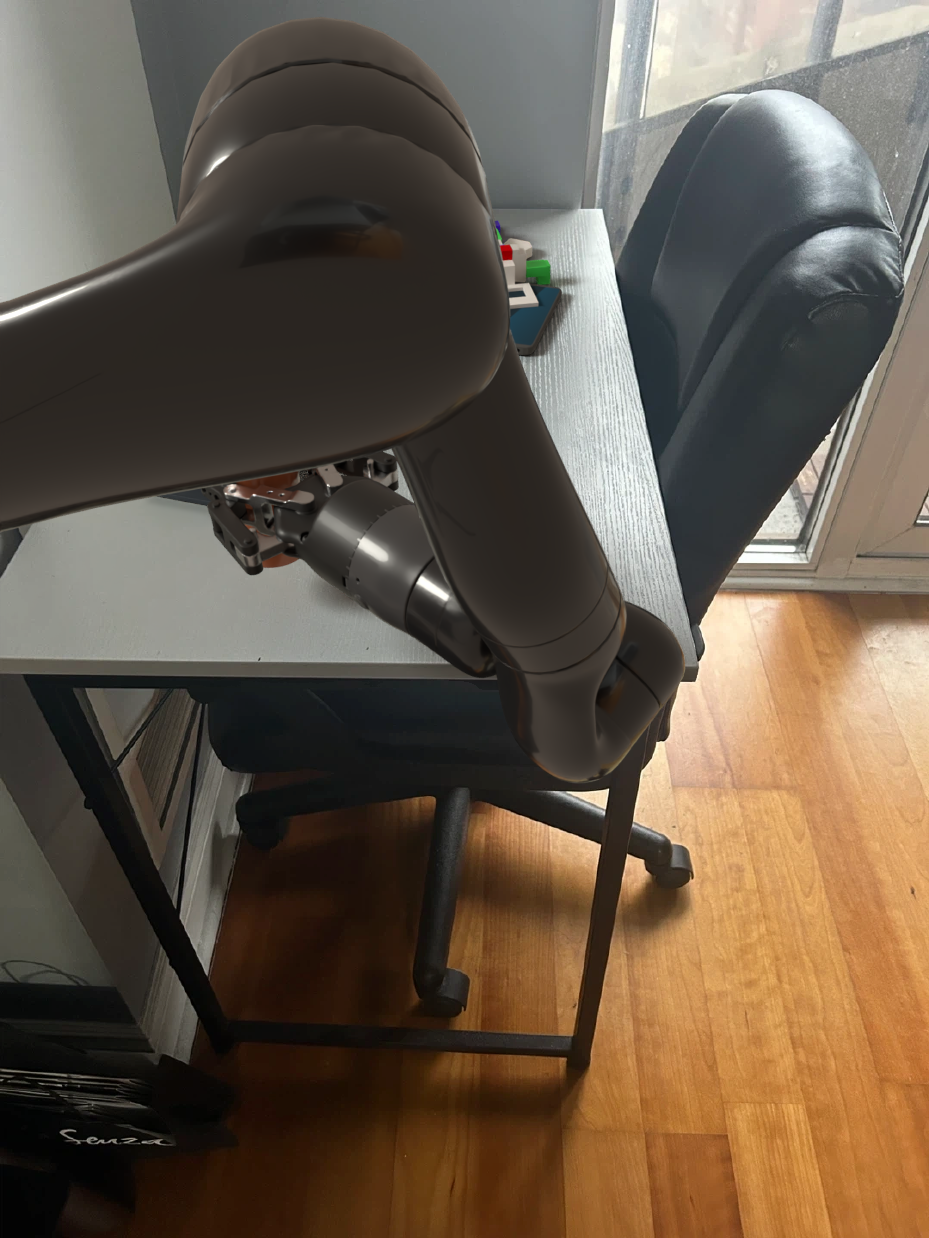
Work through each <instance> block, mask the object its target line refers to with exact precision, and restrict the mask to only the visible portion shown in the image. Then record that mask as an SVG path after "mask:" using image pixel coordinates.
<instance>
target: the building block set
mask: <svg viewBox="0 0 929 1238" xmlns="http://www.w3.org/2000/svg"><path fill="white" fill-rule="evenodd" d="M495 224H496V229H497V235H498V241H499V244H500V248H501V253H502V259H503V265H504V270H505V274H506V279H507V284H508V292H512V291H524V293H525V295H526V297H515V298H509V301H510V309H515V308H526V307H537V306H538V301H537V298H536V296H535V294H534V292H533V290H532V288H531V286H530V284H529V283H530V282H527V279H528V278H529V279H530V278H534V281H535V282H536V284H539V285H551V268H552V267H551V263H550V261H549V260H548V259H533V260H527V259H530V258H531V257H533V245H532V244H531V242H530V241H527V240H522V239H517V238H511V237H510V238H508V239H507V240H506V241H505V242H504V243H503V238H502V235H501V224H500V222H499V220H495ZM515 282H523V283H524V284H515Z"/></svg>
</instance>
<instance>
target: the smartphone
mask: <svg viewBox="0 0 929 1238" xmlns="http://www.w3.org/2000/svg"><path fill="white" fill-rule="evenodd" d="M528 283H529V284H530V286H531V288H532V290H533V292H534V294H535V296H536V298H537V301H538V306H537V307H526V308H515V309H510V330H511V333H512V336H513V339H514V342H515V345H516V348H517V351H518V354H519V356H528V355H532V354H533V353H534V352H535V351H536V349H537V348H538V345H539V343H540V341H541V339H542V338H543V335H544V333H545V331H546V329H547V327H548V325H549V323H550V322H551V319H552V317H553V315H554V313H555V311H556V309H557V307H558V305H559V302H560V301H561V299H562V296H563V292H562V290H563V289H561V288H560V287H559V286H556V285H555V286H554V285H549V284H544V285H539V284H537V283H530V282H528ZM515 284H524V283H523V282H515ZM515 297H526V295H525V293H524V291H512V292H509V298H515Z"/></svg>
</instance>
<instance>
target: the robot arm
mask: <svg viewBox="0 0 929 1238" xmlns="http://www.w3.org/2000/svg"><path fill="white" fill-rule="evenodd" d="M181 166H182V167H181V168H182V169H181V174H180V180H179V195H178V202H177V203H178V204H177V211H176V212H177V213H176V220H175V221H176V223H175V225H173V227H171V228H170V229H168V231H166V232H164V233H163V234H161V235H160V236H158V237H157V238H156V239H153V240H151V241H150V242H147V243H146V244H144V245H142V246H139V247H138V248H136V249H134V250H132V251H130V252H128V253H126V254H124V255H122V256H120V257H118V258H116V259H113V260H111V261H109V262H106V263H104V264H102V265H99V266H97V267H95V268H93V269H91V270H88V271H86V272H83V273H81V274H78V275H75V276H73V277H69V278H67V279H64V280H61V281H59V282H58V281H57V282H56V283H53V284H51V285H47V286H44V287H42V288H40V289H36V290H34V291H31V292H28V293H26V294H23V295H20V296H18V297H15V298H11V299H9V300H5V301H1V302H0V533H2V532H7V531H11V530H14V529H20V528H23V527H27V526H30V525H34V524H38V523H42V522H45V521H49V520H54V519H57V518H60V517H64V516H68V515H73V514H77V513H80V512H85V511H89V510H93V509H98V508H102V507H107V506H113V505H117V504H122V503H123V504H124V503H127V502H132V501H133V502H134V501H138V500H145V499H149V498H155V497H159V496H161V495H166V494H172V493H177V492H183V491H189V490H195V489H201V492H202V494H203V496H205V497H206V498H208V499H209V500H210V501H211V502H209V503H208V505H206V507H207V512H208V514H209V516H210V520H211V524H212V530H213V535H214V536H215V538H216V539H217V540H218V541H219V543H220V544H221V545H222V546H223V547H224V549H225V550H226V551H227V552H228V553H229V554H230V556H231V557H232V558H233V559H234V560H235V562H236V563H237V564H238V565H239V566H240V568H242V570H243V572H245V573H246V575H249V576H257V575H260V574H261V573H262V572H263V571H264V568H263V563H262V562H263V561H265V560H267V559H270V558H272V557H274V556H277V555H279V554H281V553H282V554H284V555H286V556H289V557H294V558H298V559H299V560H302V561H303V562H304V563H305V564H307V566H309V568H310V569H311V570H312V571H313V572H314V573H315V574H316V575H317V576H318V577H320V578H321V579H322V580H324V581H325V582H327V583H328V584H330V585H331V586H333V588H335V589H337V590H338V591H340V592H341V594H344V595H345V596H347V597H348V598H349V599H351V600H352V601H354V602H355V603H356V604H358V605H359V606H360V607H361V608H363V609H364V610H366V611H368V612H369V613H371V614H372V615H373V616H375V617H376V618H378V619H379V620H380V621H382V622H383V623H385V624H387V625H388V626H391V627H392V628H394V629H396V630H399V631H401V632H403V633H405V634H406V635H408V636H410V637H412V638H413V639H414V640H416V641H417V642H419V643H420V644H421V645H423V646H424V647H426V648H428V649H429V650H430V651H431V652H433V653H435V655H437V656H439V657H440V658H441V659H443V660H444V661H446V663H448V664H450V665H451V666H453V667H454V668H456V669H457V670H459V671H461V672H462V673H463V674H465V675H468V676H470V677H473V678H476V679H486V678H491V677H495V676H496V683H497V688H498V695H499V700H500V705H501V708H502V713H503V717H504V719H505V722H506V724H507V727H508V729H509V731H510V733H511V735H512V737H513V738H514V741H515V742H516V743H517V745H518V746H519V748H520V749H521V751H522V752H523V753H524V754H525V756H526V757H527V758H528V759H529V760H530V761H531V762H532V763H533V764H534V765H535V766H536V767H538V768H539V769H540V770H541V771H543V772H544V773H546V774H548V775H549V776H551V777H553V778H555V779H557V780H560V781H564V782H565V783H566V782H568V783H572V784H586V783H587V784H588V783H593V782H595V781H598V780H601V779H603V778H605V777H607V776H608V775H610V774H611V773H612V772H613V771H614V770H615V769H616V768H617V767H618V766H619V765H620V764H621V763H622V761H623V760H624V759H625V757H626V756H627V755H628V753H630V751H631V750H632V748H633V746H634V745H635V744H636V743H637V742H638V740H639V739H640V737H641V736H642V735H643V733H644V732H645V731H646V729H647V728H648V727H649V725H650V724H651V723H652V722H653V721H654V719H655V718H656V717H657V715H658V714H659V713H660V710H662V709H663V707H665V705H666V704H667V702H668V701H669V700H670V699H671V697H672V696H673V694H675V692H676V690H677V689H678V688H679V686H680V684H681V682H682V680H683V678H684V675H685V672H686V658H685V653H684V650H683V646H682V645H681V642H680V641H679V639H678V638H677V636H676V634H675V633H674V631H673V630H672V628H670V627H669V626H668V625H667V624H666V623H665V622H664V621H663V620H662V619H661V618H659V617H658V616H657V615H655V614H653V613H652V612H651V611H650V610H647V609H646V608H644V607H642V606H640V605H638V604H635V603H633V602H631V601H628V600H625V599H624V595H623V592H622V590H621V587H620V586H619V585H620V584H619V582H618V580H617V579H616V576H615V573H614V571H613V569H612V567H611V564H610V561H609V559H608V557H607V555H606V551H605V550H604V548H603V546H602V544H601V541H600V538H599V537H598V534H597V532H596V530H595V528H594V525H593V524H592V521H591V519H590V516H589V515H588V512H587V511H586V508H585V506H584V504H583V502H582V500H581V497H580V495H579V494H578V491H577V489H576V487H575V485H574V483H573V481H572V479H571V476H570V474H569V472H568V470H567V468H566V465H565V463H564V462H563V459H562V457H561V454H560V452H559V450H558V449H557V446H556V444H555V442H554V439H553V437H552V435H551V433H550V431H549V428H548V426H547V424H546V422H545V419H544V417H543V414H542V412H541V410H540V407H539V405H538V402H537V400H536V397H535V394H534V393H533V390H532V387H531V384H530V382H529V379H528V376H527V374H526V371H525V368H524V366H523V363H522V360H521V358H520V355H519V354H518V351H517V348H516V345H515V342H514V339H513V336H512V333H511V330H510V301H509V292H508V284H507V279H506V274H505V270H504V265H503V259H502V253H501V248H500V244H499V241H498V235H497V229H496V224H495V221H496V220H495V215H494V210H493V205H492V201H491V200H492V199H491V196H490V191H489V190H490V189H489V185H488V178H487V175H486V171H485V168H484V167H485V166H484V163H483V160H482V156H481V152H480V148H479V144H478V142H477V139H476V137H475V134H474V132H473V129H472V128H471V125H470V122H469V121H468V119H467V117H466V115H465V114H464V111H463V109H462V108H461V106H460V104H459V102H458V101H457V99H456V98H455V97H454V95H453V94H452V92H451V91H450V90H449V88H448V87H447V86H446V84H445V83H444V81H443V80H442V79H441V78H440V76H439V75H438V73H437V71H435V70H434V68H432V67H430V65H429V64H427V63H426V62H425V61H424V59H422V58H421V57H420V56H419V55H418V54H417V53H416V52H415V51H413V50H412V48H409V47H408V46H406V44H405V45H404V44H403V43H402V42H400V41H398V40H397V39H395V38H393V37H392V36H390V35H388V34H387V33H385V32H383V31H382V30H378V29H376V28H374V27H371V26H367V25H365V24H361V23H359V22H356V21H354V20H348V19H341V18H333V17H326V16H325V17H324V16H316V17H305V18H297V19H296V18H295V19H289V20H286V21H283V22H281V23H277V24H274V25H272V26H268V27H266V28H263V29H260V30H259V31H257V32H255V33H254V34H252V35H250V36H249V37H247V38H246V39H244V40H243V41H242V42H240V43H239V44H237V45H236V46H235V48H234V49H233V50H232V51H231V52H230V53H229V54H228V55H227V56H226V57H225V58H224V59H223V60H222V62H221V63H220V64H219V65H218V66H217V67H216V68H215V70H214V71H213V73H212V75H211V77H210V79H209V81H208V82H207V84H206V86H205V88H204V89H203V91H202V93H201V95H200V96H199V100H198V102H197V106H196V108H195V111H194V115H193V118H192V121H191V125H190V127H189V130H188V134H187V138H186V141H185V145H184V149H183V158H182V165H181ZM389 450H391V451H392V453H393V454H391V453H388V452H387V451H389ZM398 468H399V469H400V471H401V474H402V476H403V479H404V481H405V483H406V487H407V489H408V491H409V493H410V496H411V499H412V501H411V500H410V499H408V498H406V497H405V496H403V495H402V494H400V493H398V492H396V491H398V490H399V488H400V485H399V471H398ZM297 471H299V474H303V473H305V472H306V473H307V474H306V475H307V476H305V477H303V478H301V479H300V480H301V481H300V482H299V483H298V484H297V485H294V486H292V487H289V488H286V489H284V490H283V489H278V488H274V487H270V486H265V485H261V486H259V487H258V489H254V488H249V487H245V486H241V485H237V483H236V482H241V481H247V480H253V479H259V478H264V477H270V476H276V475H281V474H286V473H292V472H297ZM245 504H249V505H250V506H251V507H252V508H253V510H252V509H248V508H246V506H245ZM271 505H274V515H273V511H272V506H271ZM245 525H249V526H253V527H251V528H250V529H248V528H247V527H246V526H245ZM256 529H257V530H258V531H259V532H260V533H259V532H257V530H256ZM263 534H264V535H268V536H264V535H263Z"/></svg>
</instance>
